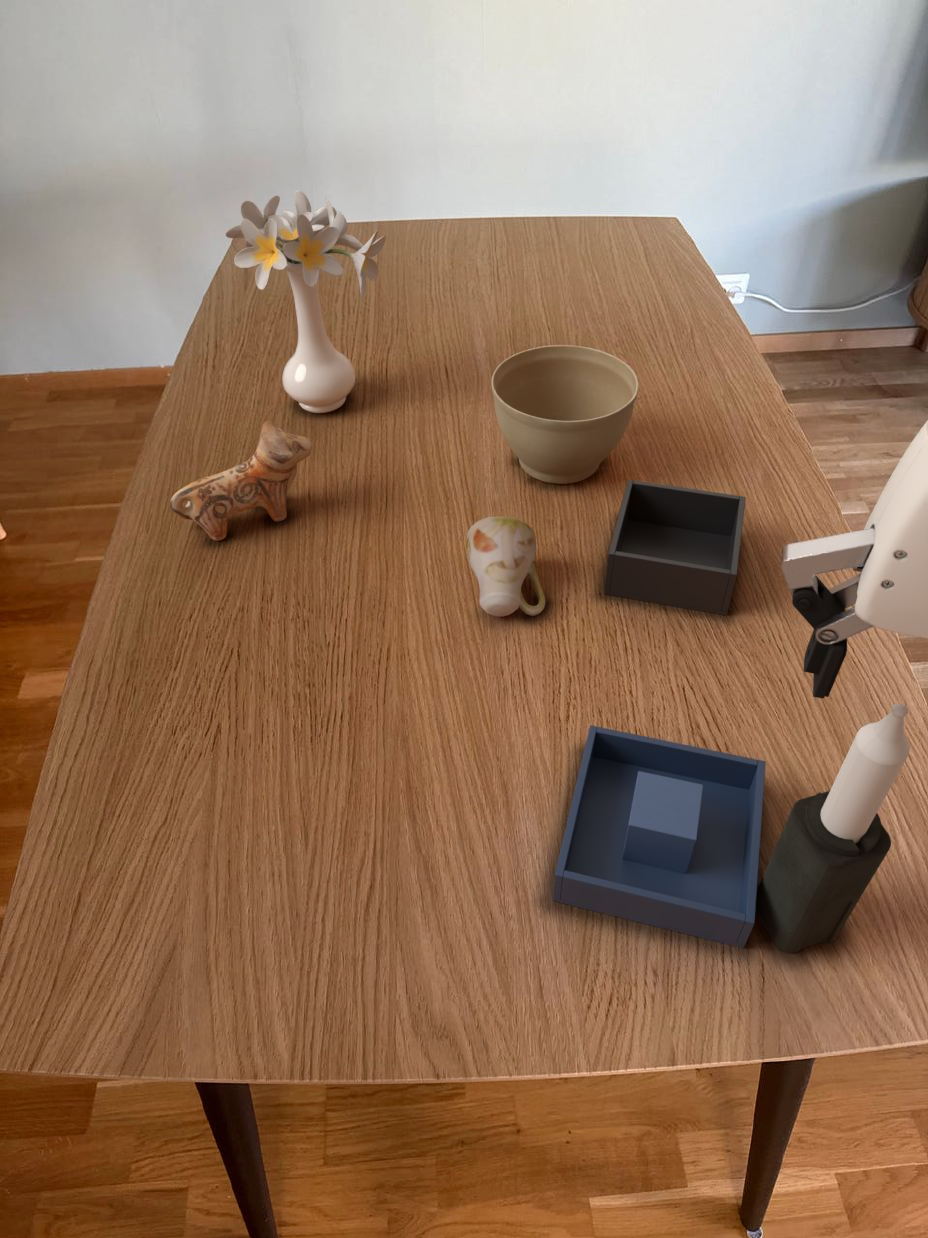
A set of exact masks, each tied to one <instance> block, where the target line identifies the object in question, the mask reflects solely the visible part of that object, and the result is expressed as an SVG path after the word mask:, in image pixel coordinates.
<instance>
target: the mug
mask: <svg viewBox="0 0 928 1238" xmlns="http://www.w3.org/2000/svg"><path fill="white" fill-rule="evenodd" d="M465 540H466V541H465V551H466V556H467V559H468V562H469V564H470V567H471V570H472V572H473V574H474V576H475V579H476V580H477V583H478V588H479V606H480V607H481V609H482V610H484V612H485V613H486V614H488V615H489V616H490V615H491V616H493V617H498V618H499V617H506V616H510V615H511V614H513V613H515V611H516V610H518V609H520V610H521V611H522V612H523V613H524V614H526V615H528V616H532V617H533V616H538V615H539V614H541V613H542V612H543V610H544V609H545V607H546V596H545V592H544V590H543V588H542V585H541V583H540V579H539V576H538V573H537V570H536V563H535V558H536V553H537V538H536V534H535V531H534V529H533V528H532V526H531V525H529V524H528V523H527V522H524V521H523V520H521V519H518V518H515V517H511V516H502V515H501V516H488V517H487V516H486V517H484V518H481V519H479V520H477V521H476V522H474V523H473V524H472V526H470V527H469V530H468V531H467V533H466V539H465ZM526 577H528V578H529V581H530V583H531V584H532V587H533V589H534V591H535V594H536V597H537V602H538V603H537V604H536V605H530V604H528V603H527V601H526V600H525V598H524V596H523V593H522V585H523V583H524V581H525V579H526Z"/></svg>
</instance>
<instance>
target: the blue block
mask: <svg viewBox="0 0 928 1238" xmlns="http://www.w3.org/2000/svg"><path fill="white" fill-rule="evenodd" d="M702 793H703V785H702V784H697V783H692V782H688V781H683V780H678V779H674V778H669V777H664V776H660V775H655V774H650V773H646V772H641V771H638V775H637V780H636V785H635V791H634V796H633V801H632V806H631V812H630V817H629V823H628V828H627V833H626V839H625V844H624V850H623V855H622V859H626V860H630V861H634V862H638V863H643V864H647V865H651V866H655V867H660V868H664V869H668V870H672V871H677V872H681V873H685V874H686V873H687V871H688V868H689V864H690V861H691V858H692V854H693V851H694V848H695V844H696V841H697V834H698V826H699V818H700V810H701V801H702Z"/></svg>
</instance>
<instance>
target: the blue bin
mask: <svg viewBox="0 0 928 1238" xmlns="http://www.w3.org/2000/svg"><path fill="white" fill-rule="evenodd" d="M583 749H584V750H583V754H582V758H581V761H580V762H581V763H580V767H579V771H578V774H577V775H578V776H577V779H576V783H575V788H574V792H573V795H572V800H571V805H570V809H569V813H568V817H567V821H566V825H565V830H564V834H563V839H562V842H561V846H560V851H559V854H558V855H559V856H558V860H557V863H556V867H555V872H554V879H553V892H552V901H553V902H556V903H560V904H563V905H569V906H571V907H576V908H580V909H585V910H588V911H592V912H596V913H601V914H604V915H608V916H613V917H617V918H621V919H624V920H629V921H633V922H637V923H640V924H644V925H649V926H652V927H656V928H660V929H665V930H668V931H673V932H677V933H679V934H680V933H681V934H683V935H689V936H693V937H697V938H701V939H705V940H708V941H713V942H717V943H720V944H724V945H729V946H732V947H737V948H740V949H744V948H745V946H746V944H747V942H748V939H749V937H750V935H751V933H752V930H753V928H754V926H755V922H756V895H757V890H758V879H759V864H760V849H761V838H762V837H761V836H762V835H761V834H762V822H763V807H764V792H765V777H766V761H765V760H761V759H756V758H751V757H747V756H742V755H737V754H732V753H728V752H722V751H717V750H713V749H707V748H704V747H698V746H693V745H688V744H683V743H679V742H674V741H670V740H664V739H659V738H654V737H649V736H645V735H639V734H634V733H630V732H626V731H620V730H616V729H612V728H611V729H610V728H606V727H600V726H598V725H597V726H596V725H592V724H590V725H589V728H588V732H587V737H586V741H585V746H584V748H583ZM638 771H641V772H646V773H650V774H655V775H660V776H664V777H669V778H674V779H678V780H683V781H688V782H692V783H697V784H702V785H703V793H702V801H701V810H700V818H699V826H698V834H697V841H696V844H695V848H694V851H693V854H692V858H691V861H690V864H689V868H688V871H687V873H686V874H685V873H681V872H677V871H672V870H668V869H664V868H660V867H655V866H651V865H647V864H643V863H638V862H634V861H630V860H626V859H622V855H623V850H624V844H625V839H626V833H627V828H628V823H629V817H630V812H631V806H632V801H633V796H634V791H635V785H636V780H637V775H638Z"/></svg>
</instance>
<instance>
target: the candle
mask: <svg viewBox="0 0 928 1238" xmlns="http://www.w3.org/2000/svg"><path fill="white" fill-rule="evenodd" d="M908 713H909V708H908V706H906V705H905V704H904V703H902V702H897V703H894V704H893V705H892V706H891V708H890V712H889V713H888V714H886V715H885V716H883V717H882V718H881V719H880V720H878V721H875V722H870V723H867V724H865V725H863V726H862V727H861V728H860V729H859V730H858V731H857V733H856V734H855V737H854V739H853V740H852V744H851V745H850V748H849V750H848V752H847V754H846V756H845V758H844V761H843V762H842V765H841V767H840V769H839V771H838V774H837V776H836V777H835V779H834V781H833V784H832V786H831V787H830V788H831V789H829V790H828V791H824V792H821V791H819V792H818V793H816V794H814V795H810V796H807V797H804V798H801V799H798V800H796V802H794V803H793V805H792V807H791V810H790V811H789V814H788V817H787V819H786V822H785V824H784V826H783V828H782V831H781V833H780V836H779V838H778V840H777V842H776V845H775V847H774V850H773V851H772V854H771V857H770V859H769V862H768V864H767V866H766V869H765V871H764V873H763V876H762V878H761V880H760V881H759V885H758V886H757V895H756V910H755V912H756V913H757V915H758V916H759V918H760V920H761V923H762V924H763V926H764V927H765V929H766V931H767V933H768V935H769V937H770V938H771V940H772V942H773V944H774V945H775V947H777V948H778V949H779V950H780V951H782V952H784V953H787V954H793V955H794V954H798V953H799V952H800V950H802V949H805V948H809V947H811V946H814V945H818V944H820V943H825V942H827V943H829V944H830V943H832V942H834V941H835V940H836V939H837V937H838V936H839V934H840V932H841V931H842V929H843V927H844V926H845V924H846V923H847V921H848V920H849V918H850V916H851V914H852V912H853V911H854V909H855V908H856V907H857V904H858V903H859V901H860V899H861V898H862V896H863V895H864V893H865V891H866V889H867V887H868V886H869V885H870V883H871V881H872V879H873V878H874V876H875V874H876V872H877V871H878V869H879V867H880V866H881V864H882V863H883V861H884V859H885V858H886V856H887V854H888V853H889V851H890V849H891V847H892V838H891V836H890V834H889V832H888V831H887V829H886V827H884V825H883V824H882V821H881V817H880V816H879V814H878V812H879V810H880V808H881V806H882V804H883V802H884V801H885V799H886V797H887V795H888V794H889V792H890V790H891V788H892V787H893V785H894V782H895V780H896V778H897V777H898V775H899V773H900V772H901V770H902V769H903V766H904V765H905V762H906V761H907V758H908V757H909V754H910V744H909V741H908V738H907V737H906V735H905V733H904V732H905V731H904V729H905V728H904V727H905V725H904V724H905V723H904V722H905V721H904V720H905V718H904V717H906V716H908Z"/></svg>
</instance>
